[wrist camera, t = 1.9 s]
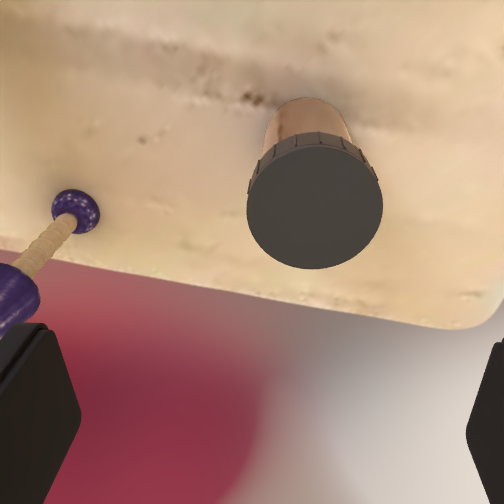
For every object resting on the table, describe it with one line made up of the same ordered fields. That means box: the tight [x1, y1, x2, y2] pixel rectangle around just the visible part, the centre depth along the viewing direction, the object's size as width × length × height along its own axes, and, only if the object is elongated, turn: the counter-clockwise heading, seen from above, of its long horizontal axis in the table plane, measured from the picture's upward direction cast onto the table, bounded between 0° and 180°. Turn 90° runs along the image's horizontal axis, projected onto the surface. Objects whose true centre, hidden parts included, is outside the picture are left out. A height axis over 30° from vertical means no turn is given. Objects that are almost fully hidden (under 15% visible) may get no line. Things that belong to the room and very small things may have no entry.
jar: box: [262, 98, 353, 157], centre depth 31 cm, size 7×7×13 cm
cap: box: [247, 131, 383, 269], centre depth 26 cm, size 8×8×3 cm
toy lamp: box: [0, 190, 99, 339], centre depth 34 cm, size 5×5×17 cm
